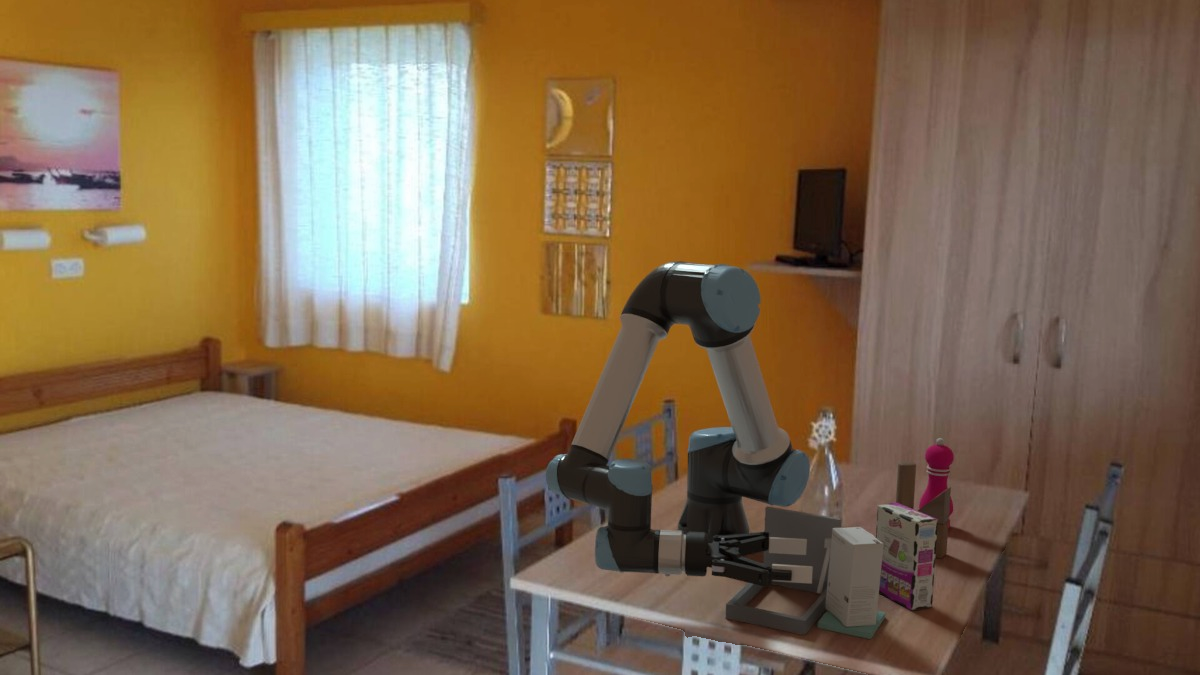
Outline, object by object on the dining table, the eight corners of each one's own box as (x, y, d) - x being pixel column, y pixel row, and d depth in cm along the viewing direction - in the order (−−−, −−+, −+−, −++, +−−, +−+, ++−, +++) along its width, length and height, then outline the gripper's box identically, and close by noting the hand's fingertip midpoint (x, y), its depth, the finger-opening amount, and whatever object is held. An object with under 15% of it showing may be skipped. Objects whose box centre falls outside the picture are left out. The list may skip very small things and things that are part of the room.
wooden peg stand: (940, 559, 212) (946, 472, 210) (889, 547, 219) (894, 463, 216) (947, 554, 215) (952, 468, 213) (896, 542, 222) (901, 459, 219)
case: (725, 617, 182) (728, 536, 180) (764, 580, 199) (767, 506, 197) (804, 635, 175) (808, 551, 173) (837, 595, 193) (841, 518, 191)
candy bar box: (934, 607, 188) (939, 518, 185) (911, 611, 186) (917, 522, 183) (892, 585, 198) (897, 501, 195) (871, 589, 196) (876, 504, 193)
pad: (817, 627, 178) (817, 622, 178) (833, 607, 187) (834, 602, 187) (870, 639, 174) (871, 633, 174) (884, 617, 183) (885, 612, 183)
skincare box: (824, 609, 183) (828, 527, 181) (855, 606, 185) (860, 524, 183) (847, 629, 175) (851, 543, 173) (879, 625, 177) (884, 540, 175)
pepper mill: (916, 529, 231) (921, 439, 228) (919, 519, 237) (924, 432, 234) (950, 533, 228) (956, 443, 225) (953, 523, 235) (959, 436, 232)
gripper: (686, 549, 195) (803, 556, 193) (680, 601, 171) (813, 610, 168) (688, 510, 194) (805, 516, 192) (681, 557, 170) (815, 565, 167)
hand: (809, 560), depth 180 cm, fingers open, 13 cm apart
